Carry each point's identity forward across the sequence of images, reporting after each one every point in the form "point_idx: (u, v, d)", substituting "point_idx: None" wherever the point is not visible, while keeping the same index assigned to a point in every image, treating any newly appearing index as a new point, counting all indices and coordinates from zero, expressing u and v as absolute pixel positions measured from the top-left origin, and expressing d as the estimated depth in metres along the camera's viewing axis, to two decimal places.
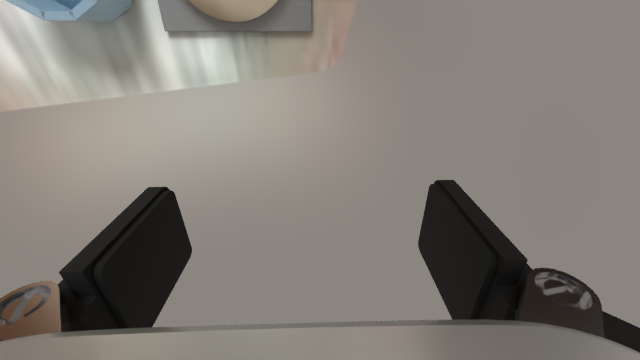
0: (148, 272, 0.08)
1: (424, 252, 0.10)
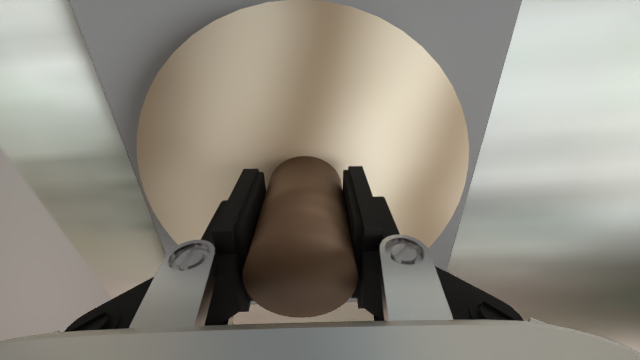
0: None
1: None
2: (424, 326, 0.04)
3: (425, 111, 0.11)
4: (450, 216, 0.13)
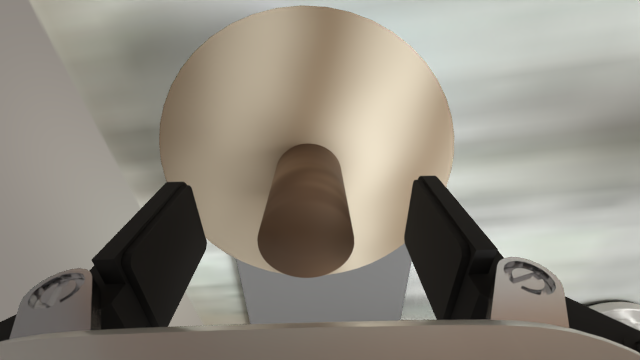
0: (169, 263, 0.08)
1: (409, 246, 0.11)
2: (424, 326, 0.04)
3: (414, 103, 0.12)
4: None
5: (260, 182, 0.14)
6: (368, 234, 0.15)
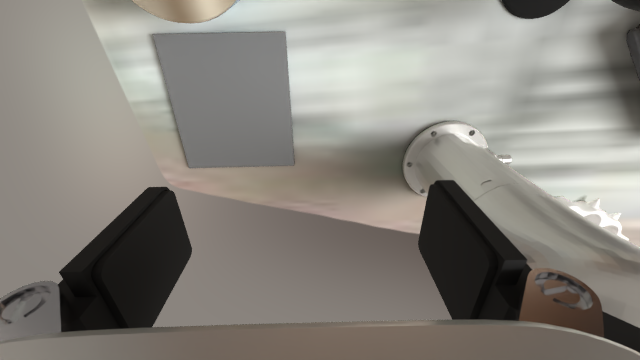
0: (148, 272, 0.08)
1: (424, 252, 0.10)
2: (424, 326, 0.04)
3: None
4: None
5: None
6: None
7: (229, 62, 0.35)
